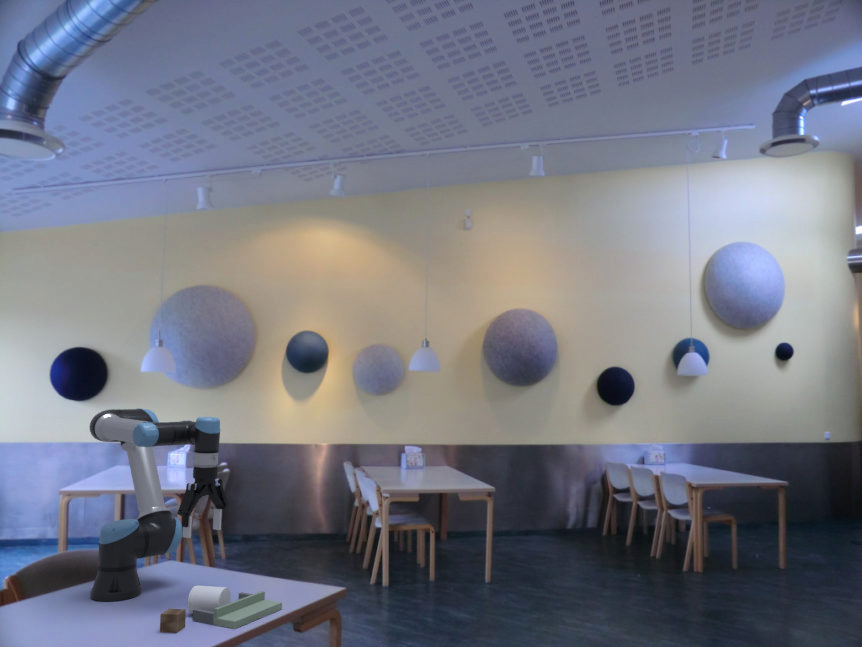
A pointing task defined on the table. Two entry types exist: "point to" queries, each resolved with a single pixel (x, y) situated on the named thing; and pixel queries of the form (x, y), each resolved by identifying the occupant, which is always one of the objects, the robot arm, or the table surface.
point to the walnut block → (172, 620)
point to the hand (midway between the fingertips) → (202, 533)
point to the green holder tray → (238, 611)
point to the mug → (208, 598)
